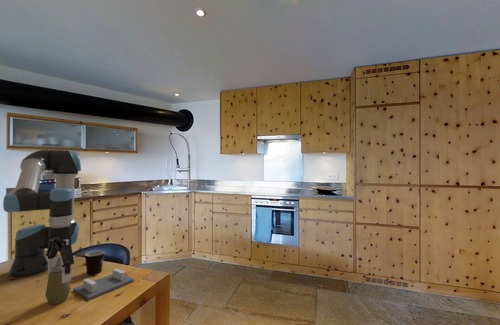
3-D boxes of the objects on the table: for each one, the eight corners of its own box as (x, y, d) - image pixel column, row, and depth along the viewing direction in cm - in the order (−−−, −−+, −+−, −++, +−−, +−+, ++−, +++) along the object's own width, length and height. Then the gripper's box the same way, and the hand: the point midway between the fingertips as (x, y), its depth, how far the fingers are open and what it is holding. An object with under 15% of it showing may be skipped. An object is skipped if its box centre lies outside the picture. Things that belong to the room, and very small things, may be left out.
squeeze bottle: (74, 298, 100) (75, 255, 100) (51, 308, 92) (53, 262, 93) (63, 294, 103) (64, 252, 104) (40, 303, 96) (42, 258, 96)
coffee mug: (94, 276, 120) (95, 256, 120) (80, 275, 121) (80, 255, 122) (112, 267, 131) (112, 249, 131) (98, 266, 133) (99, 248, 133)
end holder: (73, 291, 106) (73, 280, 106) (117, 274, 123) (118, 265, 123) (88, 300, 99) (89, 289, 99) (133, 281, 116) (134, 271, 116)
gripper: (37, 223, 102) (35, 274, 101) (62, 231, 89) (60, 289, 88) (58, 220, 108) (57, 268, 108) (85, 227, 95) (83, 281, 94)
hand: (58, 277), depth 98 cm, fingers open, 13 cm apart
